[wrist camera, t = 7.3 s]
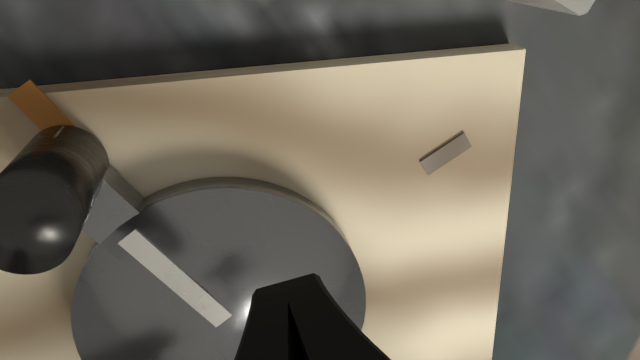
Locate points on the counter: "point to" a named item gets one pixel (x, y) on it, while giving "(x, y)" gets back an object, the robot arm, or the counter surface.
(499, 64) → the board
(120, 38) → the counter surface
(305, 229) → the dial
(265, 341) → the robot arm
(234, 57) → the counter surface
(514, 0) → the lighter
